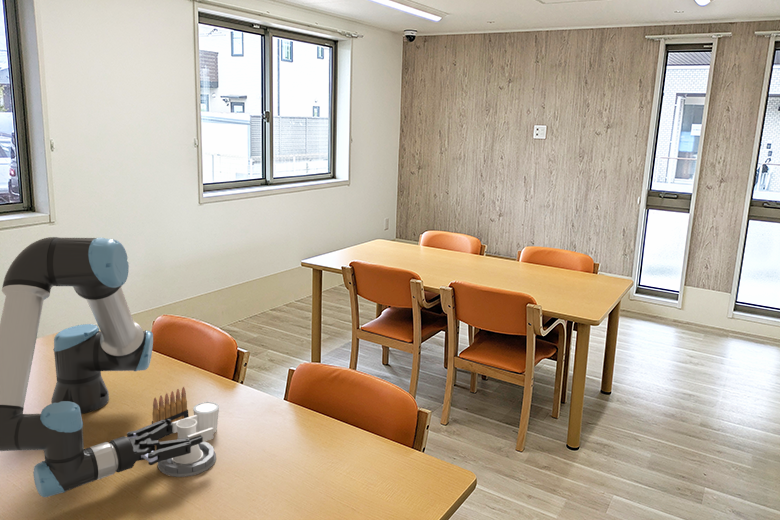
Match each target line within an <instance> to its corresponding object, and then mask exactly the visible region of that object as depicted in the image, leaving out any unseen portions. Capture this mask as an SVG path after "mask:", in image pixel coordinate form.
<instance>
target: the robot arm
mask: <svg viewBox="0 0 780 520" xmlns="http://www.w3.org/2000/svg"><path fill="white" fill-rule="evenodd" d="M128 258H129V257H128V255H127V251H126V249H125V247H124V245H123V244H122V242H120V241H119V240H117V239H114V238H113V239H112V238H105V237H57V236H52V237H51V236H50V237H44V238H41V239H37V240H36V241H33V242H31V243H30V244H29V245H28V246H26V247H25V248H23V250H22V251H21V252H20V253H18V255H17V256H15V258H14V260H13V261H12V262H11V264H10V265H9V266H8V269H7V271H6V273H5V275H4V279H3V283H2V288H1V292H2V293H3V295H4V296H5V297H4V298H5V299H4V303H3V308H2V313H1V318H0V452H12V451H43V454H44V460H42V461H40V462H38V463H36V464H35V465H34V466H33V481H34V485H35V488H36V491H37V493H38V494H39V496H41V497H42V498H48V497H52V496H56V495H59V494H62V493H63V494H65V493H66V492H68V491H70V490H72V489H73V490H74V489H76V488H78V487H81V486H84V485H87V484H90V483H92V482H95V481H97V480H102V479H103V478H107V477H109V476H113V475H115V473H121V472H125V471H127V470H130V469H132V468H133V467H134V466H135V464H136V462H139V461H147V462H148V466H154V465H155V464H158V462H159V461H163V460H167V459H170V458H174V457H178V456H182V455H185V454H189V453H191V446H194V445H197V444H200V443H202V442H207V441H210V440H212V439H214V433H213V428H209V429H206V430H203V431H200V432H196V433H194V434H191V435H188V436H187V438H184V439H178V438H177V439H172V440H163V441H159V440H161V439H163V438H162V437H163V436H165V435H167V434H168V433H170V432H171V430H172V432H173V434H175V433H178V431H177V425H176V423H177V422H178V421H179V420H178V421H175V422H172V423H171V419H167V420H166V421H167V422H165V420H161V421H158V422H156V423H153V424H152V423H150V424H149V425H146V426H144V427H141V428H138V429H135V430H132V431H131V430H130V431H128V432H126V436H120V437H117V438H113V439H111V440H109V442H108V441H105V442H101V443H98V444H96V445H92V446H89V447H86V448H85V445H84V444H85V443H84V422H83V419H82V415H83V414H87V413H91V412H94V411H97V410H99V409H101V408H103V407H104V406H106V404H108V403H109V400H110V393H109V390H108V387H107V385H106V384H105V381H104V379H103V377H102V372H139V371H146V370H147V369H148V368H149V367H150V365H151V360H152V354H153V349H154V348H153V346H154V345H153V344H154V334H153V332H152V331H150V330H147V329H145V330H143V328H142V327H141V325H140V324H139V323H138V322H136V321H135V320H134V319H133V316H132V313H131V310H130V307H129V306H128V302H127V299H126V297H125V294H124V291H123V289H122V286H123V285H125V284H126V282H127V279H128V277H129V267H130V266H129V262H128ZM53 287H72V288H73V289H74V291H75V293H76V294H77V295H78V296H79V297H80V298H82V299H84V300H86V301H87V303H88V305H89V306H88V307H89V309H90V310H91V313H92V315H93V318H94V320H95V322H96V323H97V324H92V323H87V324H86V323H85V324H84V323H83V324H80V325H79V324H78V325H75V326H74V325H73V326H71V327H67V328H65V329H62V330H60V331H59V332H58V333H56V335H55V336H54V338H53V352H54V353H53V354H54V365H55V366H54V367H55V375H56V377H55V378H56V383H55V385H54V386H55V387H54V390H53V393H52V397H51V403H50V404H47V405H46V406H45V407H43V409H42V410H41V412H40V413H24V410H25V402H26V396H27V393H28V390H27V389H28V385H29V382H30V376H31V370H32V364H33V360H34V354H35V349H36V344H37V338H38V333H39V328H40V321H41V316H42V312H43V306H44V302H45V300H47V299H48V298H49V297H50V295H51V290H52V288H53ZM187 418H192V419H195V420H196V421H197V415H194V414H193V415H190V416H189V417H187ZM184 419H185V418H184ZM159 425H160V427H159ZM197 425H198V421H197V424H196V426H197ZM160 438H161V439H160Z"/></svg>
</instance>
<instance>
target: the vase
mask: <svg viewBox="0 0 780 520" xmlns="http://www.w3.org/2000/svg"><path fill="white" fill-rule="evenodd" d="M196 424H197V421H196V420H195V419H192V418H185V419H181V420H179V421H178V422H177V423H176V425H177V431H178V432H177V439H184V438H187V436H188V435H191V434H194V433H197V432H196ZM202 459H203V452H202V450H200V448H199V445H198V444H197V445H194V446H191V453H189V454H185V455H182V456H178V457H174V458H172V463H173V464H175V465H179V466H181V465H192V464H194V463H197V462H200V461H202Z"/></svg>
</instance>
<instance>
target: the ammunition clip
mask: <svg viewBox="0 0 780 520" xmlns="http://www.w3.org/2000/svg"><path fill="white" fill-rule="evenodd" d="M187 417H190V416H189V409H188V401H187V393H186V389H185V386H182V388H181V393H180V390H179V388H177V390H176V391H175V393H174V391H173V390H171V392H170V397H169V393H167V392H166V393H165V396H164V398H163V395H160V396H159V400H158V399H157V398H156V397H154V398H153V402H152V420H151V424H153V423H156V422H158V421H161V420H165V422H167V421H166V420H167V419H171V423H172V422H175V421H178V420H181V419H184V418H187ZM159 427H160V425H159ZM172 434H174V433H173V432H172V430H171V432H170V433H168V434H167V435H165V436H163V437H162V438H160V439H159V440H162V439H163V438H166V437H168V436H170V435H172Z"/></svg>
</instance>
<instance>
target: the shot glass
mask: <svg viewBox="0 0 780 520" xmlns="http://www.w3.org/2000/svg"><path fill="white" fill-rule="evenodd" d="M219 410H220V404H218V403H217V402H213V401H204V402H199V403H197V404H196V405H194V406H193V408H192V411H193V416H194V415H197V421H198V425H197V426H196V433H197V432H200V431H203V430H206V429H209V428H213V434H215V433H216V432H217V431H218V424H219V423H218V422H219V421H218V420H219V412H220V411H219Z"/></svg>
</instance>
